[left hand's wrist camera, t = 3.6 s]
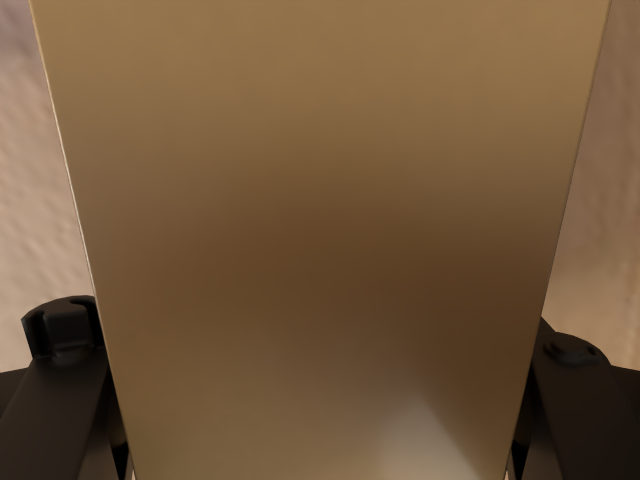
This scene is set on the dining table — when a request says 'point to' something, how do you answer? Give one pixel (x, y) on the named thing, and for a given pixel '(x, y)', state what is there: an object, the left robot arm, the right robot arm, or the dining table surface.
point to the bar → (319, 221)
